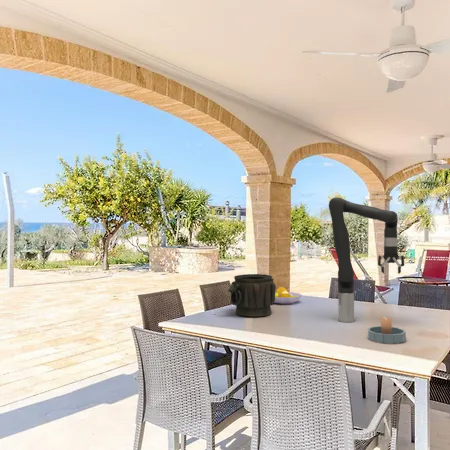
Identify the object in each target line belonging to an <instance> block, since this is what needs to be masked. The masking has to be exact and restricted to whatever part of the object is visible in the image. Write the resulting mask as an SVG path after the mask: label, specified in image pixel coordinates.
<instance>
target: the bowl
mask: <svg viewBox="0 0 450 450" xmlns="http://www.w3.org/2000/svg"><path fill="white" fill-rule="evenodd" d="M367 339H368V340H369V339H370V340H369V341H371V340H372V341H371V342H373V341H375V342H374V343H377V342H379V343H378V344H384V343H399V344H403V343H405V342H406V341H407V340H406V339H407V332H406V331H405V329H403V328H399V327H394V326H392V334H381V325H377V326H370V327H368V328H367Z"/></svg>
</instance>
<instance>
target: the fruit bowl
mask: <svg viewBox="0 0 450 450" xmlns="http://www.w3.org/2000/svg"><path fill="white" fill-rule="evenodd" d="M301 297H302V294H300V293H299V292H293V291H288V289H287V288H285V287H284V286H279V287H278V288H277V289H276V290H275V301H274V303H273V304H279V305H288V304H294V303H296V302H298V301H299V300H300V298H301Z"/></svg>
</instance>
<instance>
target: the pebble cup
mask: <svg viewBox="0 0 450 450" xmlns="http://www.w3.org/2000/svg"><path fill="white" fill-rule="evenodd" d="M392 319H393V317H390V316H381V317H380V326H381V334H392V327H393V322H392V321H393V320H392Z"/></svg>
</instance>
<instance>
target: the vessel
mask: <svg viewBox="0 0 450 450" xmlns="http://www.w3.org/2000/svg"><path fill="white" fill-rule="evenodd" d="M233 279H234V280H233V281H232V282H231V284H230V287H229V288H228V290H227V291H228V292H229V293H230V304H232V305H233V306H235V314H236V315H240V316H243V317H265V316H266V317H267V316H270V315H271V314H272V309H271V306H273V304H275V303H274V301H275V292H276V290H277V289H276V287H277V286H276V284H275V282H274V278H273V276H272V275H270V274H265V273H264V274H263V273H246V274H238V275H234V276H233Z"/></svg>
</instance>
